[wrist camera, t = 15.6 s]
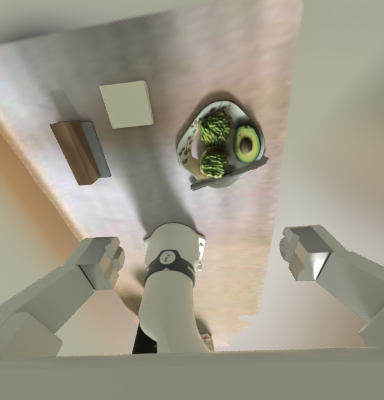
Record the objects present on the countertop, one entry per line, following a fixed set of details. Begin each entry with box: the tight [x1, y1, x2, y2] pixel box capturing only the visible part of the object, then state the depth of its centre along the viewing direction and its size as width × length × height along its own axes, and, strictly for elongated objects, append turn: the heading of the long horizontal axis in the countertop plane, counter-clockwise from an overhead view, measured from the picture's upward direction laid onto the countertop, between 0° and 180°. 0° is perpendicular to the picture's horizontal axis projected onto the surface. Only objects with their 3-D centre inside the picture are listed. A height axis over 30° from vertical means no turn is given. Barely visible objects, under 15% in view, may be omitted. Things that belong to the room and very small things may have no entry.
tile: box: [99, 81, 154, 129], centre depth 32 cm, size 7×2×8 cm
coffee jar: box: [132, 323, 157, 354], centre depth 70 cm, size 11×11×18 cm
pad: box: [80, 121, 111, 178], centre depth 37 cm, size 12×7×1 cm, turn 4°
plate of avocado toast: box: [177, 100, 269, 191], centre depth 36 cm, size 19×18×5 cm
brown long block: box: [50, 120, 101, 185], centre depth 34 cm, size 3×12×4 cm, turn 4°
